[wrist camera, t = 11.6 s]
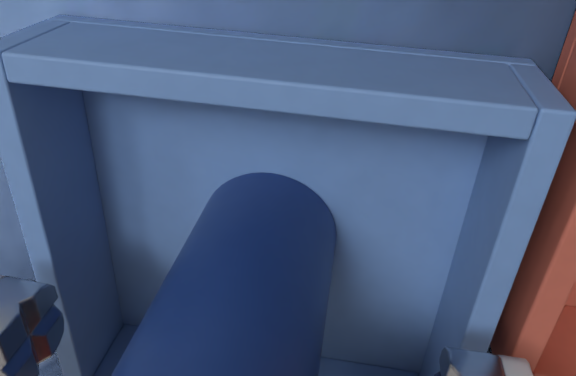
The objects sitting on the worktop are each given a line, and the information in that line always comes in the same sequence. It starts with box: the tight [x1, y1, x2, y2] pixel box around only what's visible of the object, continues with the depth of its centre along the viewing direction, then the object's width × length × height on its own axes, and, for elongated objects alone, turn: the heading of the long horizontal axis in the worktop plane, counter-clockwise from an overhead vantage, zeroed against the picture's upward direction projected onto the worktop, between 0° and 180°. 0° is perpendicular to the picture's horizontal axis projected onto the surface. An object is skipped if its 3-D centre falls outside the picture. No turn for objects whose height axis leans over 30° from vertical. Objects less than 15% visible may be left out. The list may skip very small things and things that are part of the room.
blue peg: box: [111, 172, 337, 376], centre depth 10 cm, size 4×4×7 cm
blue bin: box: [0, 15, 576, 376], centre depth 13 cm, size 11×10×3 cm
